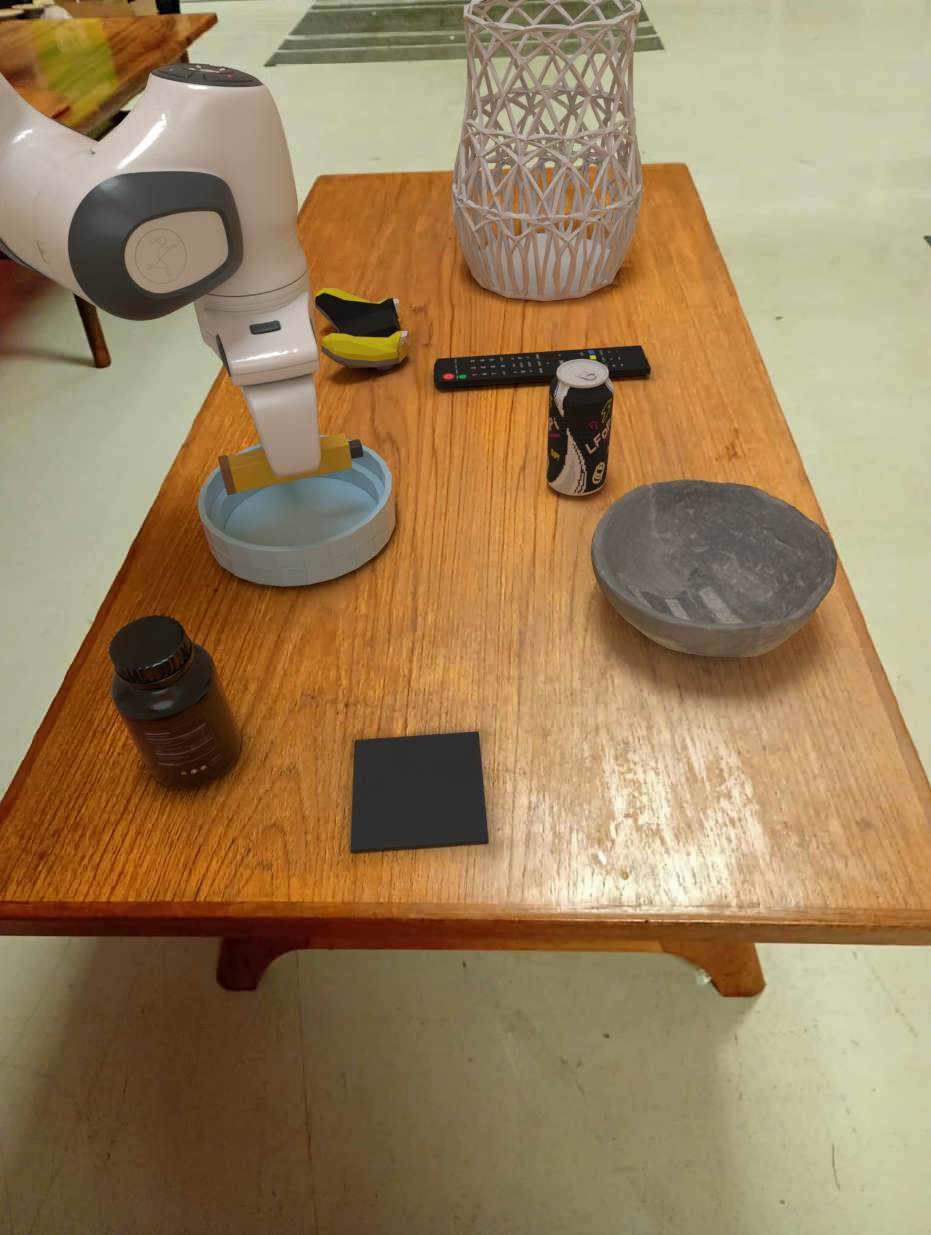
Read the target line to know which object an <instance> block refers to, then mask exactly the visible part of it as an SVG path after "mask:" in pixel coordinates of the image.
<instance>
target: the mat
mask: <svg viewBox="0 0 931 1235" xmlns="http://www.w3.org/2000/svg"><path fill="white" fill-rule="evenodd" d="M353 747H354V748H353V768H352V769H353V770H352V795H351V796H352V798H351V799H352V800H351V826H350V854H357V853H358V854H359V853H371V852H383V851H384V852H385V851H399V850H412V849H427V848H441V847H454V846H466V845H467V846H468V845H481V844H482V845H483V844H489V834H488V822H487V810H486V809H487V808H486V799H485V798H486V797H485V788H484V777H483V766H482V755H481V754H482V753H481V743H480V732H479V731H477V730H476V731H464V732H463V731H462V732H449V733H435V734H433V733H432V734H421V735H420V734H419V735H406V736H404V735H403V736H393V737H392V736H391V737H380V738H379V737H377V738H364V739H354V744H353Z"/></svg>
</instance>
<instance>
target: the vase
mask: <svg viewBox="0 0 931 1235" xmlns="http://www.w3.org/2000/svg"><path fill="white" fill-rule="evenodd" d="M541 1H542V2H544V3H548V4H549V5H548V6H547V7H546V8H544V10H542V11H541V12H540V13H539V14H538V15H537V16H536V17H535V18H533V19H532V18H531V17H530V16H529V15H528V14H527V13H526V12H525V11H523V9H522V8H521V7H520V6H522V5H523V4H524V3H526V2H528V0H516V1H514V2H512V1H510V0H471V1H470V3H468V4H465V5H463V16H462V18H463V25H464V36H465V37H464V38H465V45H466V46H465V47H466V90H465V100H464V109H463V118H462V125H461V132H460V140H459V144H458V147H457V152H456V157H455V162H454V166H453V174H452V184H451V207H452V215H453V221H454V222H453V223H454V230H455V233H456V235H457V238H458V242H459V246H460V248H461V251H462V254H463V257H464V258H465V261H466V264H467V267H468V268H469V270H470V275H471V276H472V277H473V278H474V280H475V281H476V282H477V283H478V285H479V286H480V287H481V288H483V289H486V290H488V291H490V292H492V293H495V294H497V295H500V296H502V297H504V298H507V299H515V300H516V299H517V300H526V301H536V302H552V301H561V300H570V299H579V298H584V297H585V296H587V295H588V296H589V295H590V294H592V293H594V292H597V291H598V290H600V289H602V288H605V287H607V286H609V285H612V283H613V281H614V280H615V277H616V275H617V273H618V271H619V269H620V268H621V266H622V265H623V263H624V261H625V258H626V255H627V253H628V251H629V249H630V246H631V243H632V241H633V239H634V236H635V234H636V232H637V228H638V222H639V217H640V211H641V206H642V201H643V165H642V158H641V153H640V150H639V143H638V142H639V141H638V136H637V132H636V131H637V118H636V114H635V112H636V109H635V107H634V48H635V47H634V46H635V42H636V41H635V40H636V36H637V31H638V27H639V22H640V15H641V14H640V13H641V10H642V3H641V2H640V1H638V0H623V1H624V2H627V3H628V4H627V5H626V6H625V7H624V5H623V4H622V2H621V0H612V2H613V3H614V4H615V5H616V7H617V8H619V9H620V12H618V14H617V15H616V16H614V17H613V18H608V19H606V18H605V15H604V14H603V12H602V10H601V8H600V6H602V5H604V4H606V3H608V2H610V1H611V0H594V1H593V0H582V1H583V2H585V3H587V4H588V5H587V7H586V8H585V9H583V11H581V13H580V14H579V15H578V16H577V17H575V19H573V18H572V17H571V16H570V14H569V13H568V12H567V11H566V10H565V9H564V7H563V6H562V3H564V2H566V0H541ZM496 3H497V4H500V5H502V6H504V7H506V8H508V9H507V10H506V11H505V13H504V14H503V15H502V17H501V19H500V20H499V22H498V21H493V19H492V18H491V17H490V16H489V15H488V14H487V12H488V11H489V10H491V8H492V7H493V6H494V5H495V4H496ZM482 4H485V5H484V7H483V9H481V8H480V7H479V5H482ZM553 9H554V10H555V11H557V12H558V13H559V15H560V16H561V17H562V18H563V19H564V20H565V21H566V22H567V23H568V25H566V24H562V23H559V24H558V23H557V24H540V23H541V22H542V21H543V20H544V19H545V18H546V17H547V16H548V15H549V14H550V13H551V12H552V10H553ZM632 9H633V10H632ZM630 10H631V11H630ZM592 11H593V12H594V14H595V15H596V16H597V18H598V19H599V20H594V21H586V22H581V21H582V20H583V19H584V18H585V17H586V16H587V15H588V14H590V13H591V12H592ZM473 12H474V13H475V14H477V15H478V16H475V15H473ZM514 12H516V13H517V14H518V15H519V16H520V18H522V19H523V20H524V22H526V24H527V25H528V26H522V25H520V24H516V23H511V22H509V23H508V20H509V19H510V18H511V17H512V16H513V14H514ZM623 23H624V24H623ZM594 28H595V29H597V28H600V29H599V30H598V31H597V32H596V33H595V34H594V35H593V34H591V33H590V32H589V31H586V30H587V29H594ZM613 28H616V29H618V30H620V31H621V32H620V34H618V37H617V38H616V40H615V38H614V34H613V30H612V29H613ZM502 30H506V31H510V32H508V33H506V34H504V33H503V31H502ZM483 31H488V32H489V33H490V35H491V38H490V40H489V45H488V47H487V50H486V48H485V47H484V44H483V43H482V42H481V40H480V38H479V34H480V33H482V32H483ZM544 32H545V33H546V32H549V33H550V32H551V33H553V32H554V33H555V34H554V35H551V36H550V37H548V38H547V37H545V36H544V35H543V33H544ZM557 32H558V33H557ZM571 33H572V34H575V37H576V38H577V40H578V41H579V44H580V46H581V47H580V48H578V49H577V51H576V52H575V53H574V54H573V55H572V56H571V57H569V56H568V55H567V54H566V53H565V52H563V51H562V49H561V47H562V45H563V44H564V43H565V42H566V39H567V38H568V37H569V35H571ZM522 35H523V37H522V39H520V40H521V41H520V42H519V43H518V46H517V48H515V46H514V45H513V44H512V43H511V42H510V41H511V40H513V39H515V38H517V37H519V36H522ZM529 37H531V38H534V39H536V40H538V41H540V44H539V45H538V46H537V47H536V48H535V49H534V50H532V52H531V53H530V54H528V55H527V56H526V57H525V58H524V57H523V56H522V54H520V53H521V51H522V49H523V48H524V46H525V44H526V42H527V40H528V39H529ZM606 37H608V41H609V44H610V50H609V49H608V48H607V47H606V46H605V45H604V44H603V42H604V41H605V39H606ZM624 38H625V40H624V43H623V46H622V49H621V52H620V54H619V51H618V48H619V47H620V45H621V43H622V41H623V39H624ZM555 42H557V43H556V44H555ZM592 45H593V47H592V48H591V50H590V47H591V46H592ZM502 47H504V49H505V50H506V52H507V54H508V55H509V58H510V61H509V62H508V65H507V68H506V70H505V72H504V75H503V78H502V80H501V79H500V77H499V75H498V72H497V70H496V67H495V65H494V63H493V60H492V58H493V57H495V55H497V53H498V52H499V51H500V50H501V49H502ZM599 50H600V51H601V52H602V53H603V55H605V59H604V60H603V62H602V63H601V66H600V67H599V69H598V68H597V64H596V62H595V56H596V54H597V53H598V51H599ZM544 51H546V52H547V54H548V55H549V56H548V58H547V59H546V62H545V64H544V66H543V68H542V70H541V72H540V74H539V76H538V78H537V77H536V75H535V74H534V72H533V71H532V69H531V67H530V66H529V64H530V63H531V62H532V61H534V59H536V58H537V57H538V56H539V55H540V54H541V53H543V52H544ZM583 54H586V56H587V58H586V60H585V63H584V65H583V68H582V69H581V72H579V71H578V69H577V67H576V65H575V64H574V62H575V61H576V60H577V59H578V58H580V57H581V55H583ZM475 55H476V56H477V58H478V61H479V63H480V70H479V71H478V72H479V73H478V72H477V67H476V60H475V57H476V56H475ZM556 56H557V57H558V58H559V59H560V60H561V61H562V62H563V63H564V66H563V67H562V68H561V65H560V63H559V61H558V59H557V57H556ZM613 58H614V61H613ZM614 62H615V63H614ZM552 63H553V66H554V68H555V70H556V73H557V76H556V78H555V80H554V81H553V83H552V84H543V81H544V79H545V77H546V75H547V73H548V71H549V69H550V67H551V64H552ZM590 66H591V69H592V73H593V75H594V79H593V81H592V83H591V85H590V87H589V86H588V85H587V83H586V80H584V78H585V77H586V75H587V72H588V69H589V67H590ZM608 66H609V69H610V71H611V74H612V79H611V80H612V81H611V84H610V87H609V90H608V91H605V89H604V86H603V84H602V80H601V79H602V78H603V76H604V74H605V72H606V70H607V69H608ZM513 67H514V69H515V72H514V74H513V75H512V77H511V79H510V80H509V82H508V78H509V76H510V74H511V72H512V69H513ZM488 68H489V70H488ZM489 71H490V73H491V75H492V78H493V80H494V82H495V85H496V87H497V92H495V93H494V91H493V86H492V83H491V79H490V75H489ZM524 71H525V72H526V73H527V75H528V77H529V78H530V79H531V81H532V83H533V85H534V86H532V87H529V85H528V83H527V80H526V78H525V76H524ZM569 71H570V72H571V74H572V76H573V78H574V79H575V81H576V83H575V85H574V86H571V85H570V86H569V84H568V81H567V79H566V77H565V76H566V74H567V73H568V72H569ZM626 75H627V83H626V80H625V78H626ZM483 79H484V81H485V85H486V89H487V94H484V95H482V96H481V90H480V89H481V86H482V82H483ZM518 81H520V84H521V86H516V87H515V85H516V83H517V82H518ZM507 82H508V83H507ZM506 84H507V85H506ZM615 89H616V91H615ZM509 95H512V96H509ZM537 95H539V96H541V98H540V100H538V101H537V102H536V98H537ZM565 95H566V98H567V102H565V101H564V100H562V99H561V98H559V97H560V96H565ZM524 96H525V100H526V104H525V103H524V102H522V101H520V98H522V97H524ZM578 96H579V97H581V98H583V99H582V100H581V101H578V102H577V98H578ZM601 99H602V100H603V105H604V106H603V105H602V104H601V103H600V102H599V101H598V100H601ZM551 100H553V101H554V102H555V103H557V104H558V105H559V106H560V107H562V108H564V109H565V110H566V113H565V114H564V115H563V117H562V118H561V119H560V121H559V120H558V118H557V115H556V113H555V110H554V107H553V105H552V102H551ZM576 102H577V103H576ZM511 104H513V105H514V106H516V107H518V108H520V109H521V110H522V111H525V112H524V114H523V115H522V117H521V118H520V119H519V121H518V122H517V123H516V120H515V117H514V114H513V111H512V107H511ZM612 104H613V105H612ZM488 105H489V108H490V110H488V109H487V108H486V107H487V106H488ZM589 105H590V108H591V110H592V112H593V114H594V117H595V119H596V121H597V124H598V127H597V128H596V129H590V130H589V128H588V126H587V125H586V123H585V122H584V118H585V115H586V112H587V109H588V107H589ZM611 108H612V109H611ZM579 109H580V111H579V112H578V110H579ZM503 110H505V111H506V115H507V118H508V122H509V125H510V128H511V131H507V130H505V129H504V128H503V126H502V125H501V123H500V122H499V120H498V117H499V115H500V113H501V112H502V111H503ZM536 110H537V111H536ZM545 110H546V111H547V113H548V115H549V117H550V120H551V122H552V124H553V126H554V128H553V129H552V130H551V131H550V130H549V128H548V127H547V126H546V124H545V123H544V122H543V120H542V117H543V114H544V112H545ZM598 110H599V111H600V113H602V114H603V115H604V117H603V119H602V118H601V115H600V113H599V111H598ZM619 112H620V114H621V115H622V117H623V118H621V119H620V120H618V121H616V119H617V115H618V113H619ZM484 116H485V117H487V120H486V122H485V123H484ZM531 116H532V121H531V123H530V125H529V127H528V129H527V131H526V133H525V134H524V130H525V127H526V124H527V122H528V119H529V117H531ZM572 116H573V118H574V121H575V126H574V128H573V131H572V134H567V133H568V132H567V131H568V129H569V128H568V127H569V124H570V120H571V117H572ZM477 119H478V122H477V121H476V120H477ZM620 127H622V128H621V129H619V128H620ZM473 128H474V129H475V130H474V129H473ZM540 128H541V130H542V131H543V134H542V133H541V132H540V131H541V130H540ZM499 137H500V138H501V137H502V139H503V140H500V138H499ZM585 138H587V139H585ZM600 139H601V140H600ZM489 140H491V141H493V142H494V144H493V145H491V146H490V147H488V148H487V145H488V143H489ZM542 141H545V142H544V144H543V142H542ZM598 141H600V145H598V144H597V142H598ZM613 142H614V143H613ZM575 144H577V145H581V147H580V148H579V149H578V150H574V146H575ZM512 145H514V147H513V146H512ZM529 146H532V147H535V148H536V149H531V150H527V149H528V148H529ZM592 150H593V151H592ZM494 152H495V154H494V155H492V154H493V153H494ZM490 155H491V156H490ZM487 156H488V157H487ZM486 157H487V158H486ZM535 158H538V159H537V160H536V162H535V163H534V164H533V165H532V166H531V167H530V168H528V167H527V165H526V164H528V163H529V162H532V160H534V159H535ZM579 159H582V163H581V165H580V166H578V167H577V168H576V166H575V165H574V164H575V163H576V162H577V161H578V160H579ZM548 162H551V163H554V165H553V172H552V178H551V183H550V184H549V185H547V174H546V173H547V172H546V164H545V163H548ZM489 164H495V165H494V167H493V169H492V171H491V169H490V167H489ZM506 165H507V166H510V170H509V172H507V174H506V176H504V173H503V168H504V167H505V166H506ZM591 165H594V166H595V167H597V170H596V174H595V178H594V182H593V186H592V189H591V187H590V166H591ZM610 169H611V172H612V175H613V177H612V178H611V177H610V176H609V172H610ZM480 171H481V172H480ZM534 172H535V173H534ZM533 173H534V176H533V175H532V174H533ZM540 174H541V181H542V182H541V183H542V190H541V188H540V187H539V185H538V183H539V178H540ZM566 174H567V178H566ZM565 178H566V179H565ZM571 182H572V186H573V191H574V194H573V198H572V205H571V210H570V214H568V215H567V214H565V211H566V191H567V189H568V187H569V186H570V183H571ZM498 183H499V185H498ZM515 184H516V187H517V188H516V189H517V209H518V210H517V211H518V213H516V212H515V213H514V208H513V202H514V201H513V200H514V186H515ZM613 184H614V185H613ZM506 186H507V188H506ZM581 187H583V189H584V200H583V196H582V191H581ZM599 188H600V198H599V200H598V198H597V194H598V189H599ZM472 191H473V193H472ZM488 192H489V193H490V194H491V195H492V196H491V197H492V198H491V199H490V202H488V201H489V200H488ZM524 193H525V194H524ZM472 194H473V195H472ZM608 194H609V200H610V203H609V205H606V197H607V195H608ZM499 195H501V200H502V205H501V202H500V199H499ZM479 199H480V202H481V205H480V204H479ZM538 199H539V202H538ZM616 199H617V202H616ZM525 202H526V203H525ZM526 207H527V211H526ZM542 211H543V213H541V212H542ZM470 213H471V214H470ZM557 213H558V214H557ZM471 216H472V217H471ZM604 217H605V218H604ZM515 219H517V220H520V221H519V222H520V226H521V232H522V233H521V234H519V235H515V224H514V223H515V222H514V220H515ZM505 221H506V223H505ZM567 221H569V222H568V228H567V229H566V230H565V222H567ZM576 221H580V223H579V226H578V227H577V228H575V230H574V231H573V229H574V224H575V223H576ZM493 224H494V225H495V228H496V233H497V234H496V235H497V236H495V234H494V231H493V226H492V225H493ZM528 224H529V225H528ZM556 224H558V229H557V227H556ZM591 224H593V230H592V234H591V237H590V238H588V237H587V236H588V233H587V231H588V230H587V229H588V226H590V225H591ZM506 225H507V226H506ZM610 225H611V226H610ZM542 229H543V230H544V232H543V233H542V232H539V233H538V232H537V231H539V230H542ZM572 231H573V232H572ZM607 232H608V234H607ZM606 234H607V235H606ZM486 242H487V243H486Z"/></svg>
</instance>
